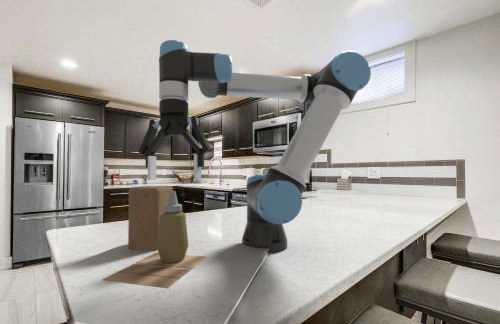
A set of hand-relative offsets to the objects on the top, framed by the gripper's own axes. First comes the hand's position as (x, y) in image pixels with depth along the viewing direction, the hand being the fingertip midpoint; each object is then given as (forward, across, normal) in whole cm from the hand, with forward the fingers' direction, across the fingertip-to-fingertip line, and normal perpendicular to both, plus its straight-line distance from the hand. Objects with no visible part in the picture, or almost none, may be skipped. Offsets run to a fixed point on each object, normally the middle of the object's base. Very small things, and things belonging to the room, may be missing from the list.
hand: (174, 180), depth 69 cm
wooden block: (+23, +14, -10) cm, 29 cm away
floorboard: (+22, 0, +10) cm, 25 cm away
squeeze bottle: (+21, 0, 0) cm, 21 cm away
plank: (+23, 0, 0) cm, 23 cm away
